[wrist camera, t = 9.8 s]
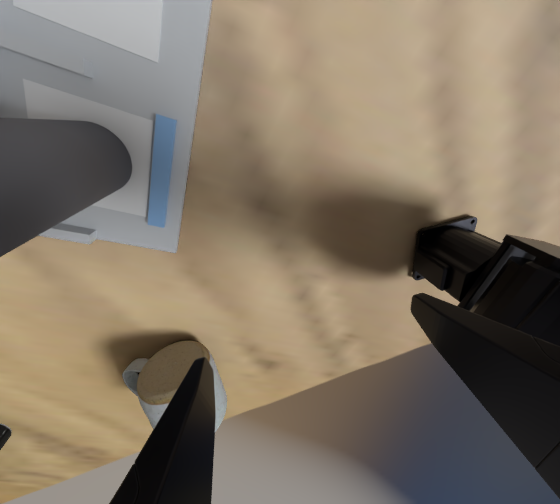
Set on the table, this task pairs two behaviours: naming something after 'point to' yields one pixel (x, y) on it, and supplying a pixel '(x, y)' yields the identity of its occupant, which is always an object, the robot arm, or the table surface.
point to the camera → (4, 434)
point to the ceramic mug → (170, 378)
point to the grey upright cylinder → (54, 173)
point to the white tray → (113, 98)
